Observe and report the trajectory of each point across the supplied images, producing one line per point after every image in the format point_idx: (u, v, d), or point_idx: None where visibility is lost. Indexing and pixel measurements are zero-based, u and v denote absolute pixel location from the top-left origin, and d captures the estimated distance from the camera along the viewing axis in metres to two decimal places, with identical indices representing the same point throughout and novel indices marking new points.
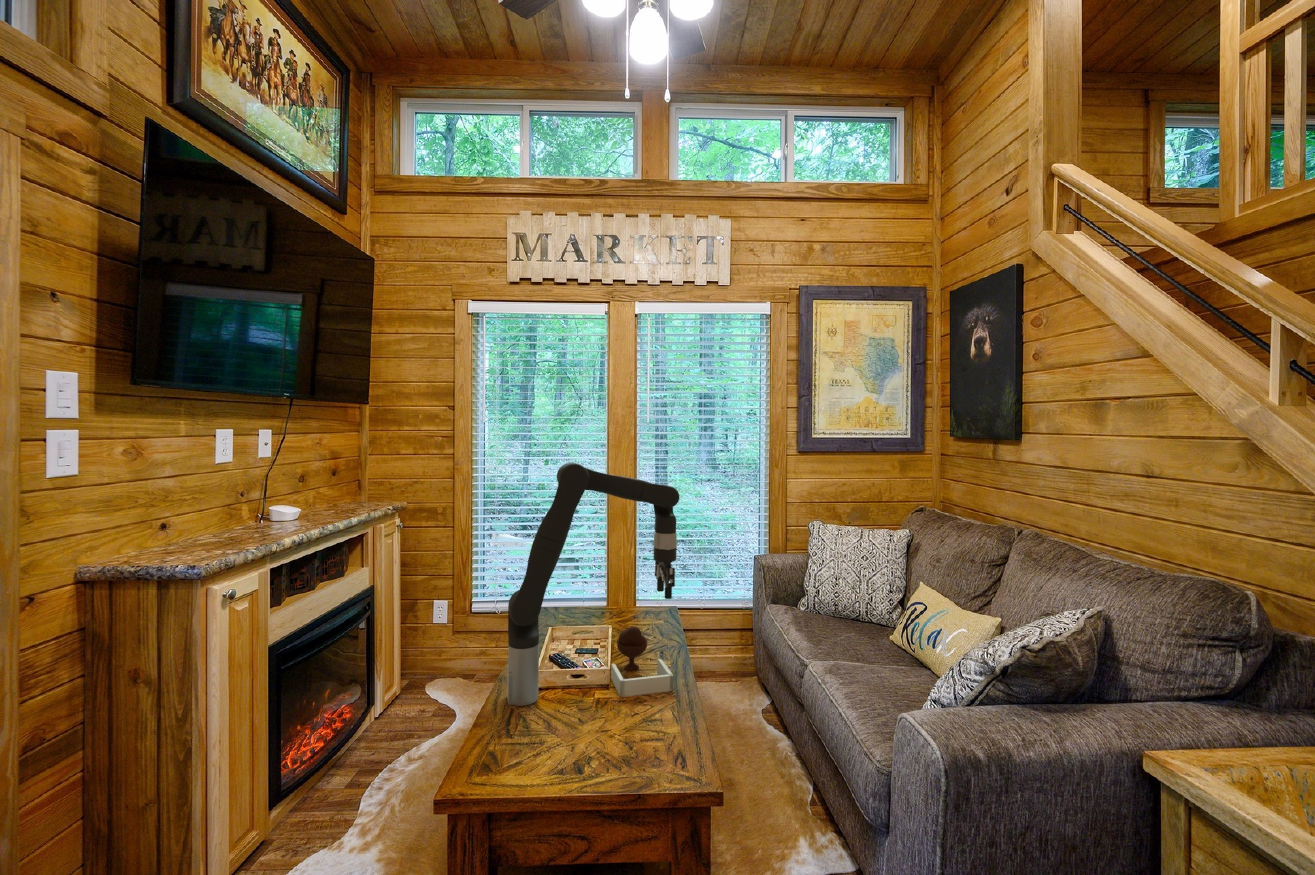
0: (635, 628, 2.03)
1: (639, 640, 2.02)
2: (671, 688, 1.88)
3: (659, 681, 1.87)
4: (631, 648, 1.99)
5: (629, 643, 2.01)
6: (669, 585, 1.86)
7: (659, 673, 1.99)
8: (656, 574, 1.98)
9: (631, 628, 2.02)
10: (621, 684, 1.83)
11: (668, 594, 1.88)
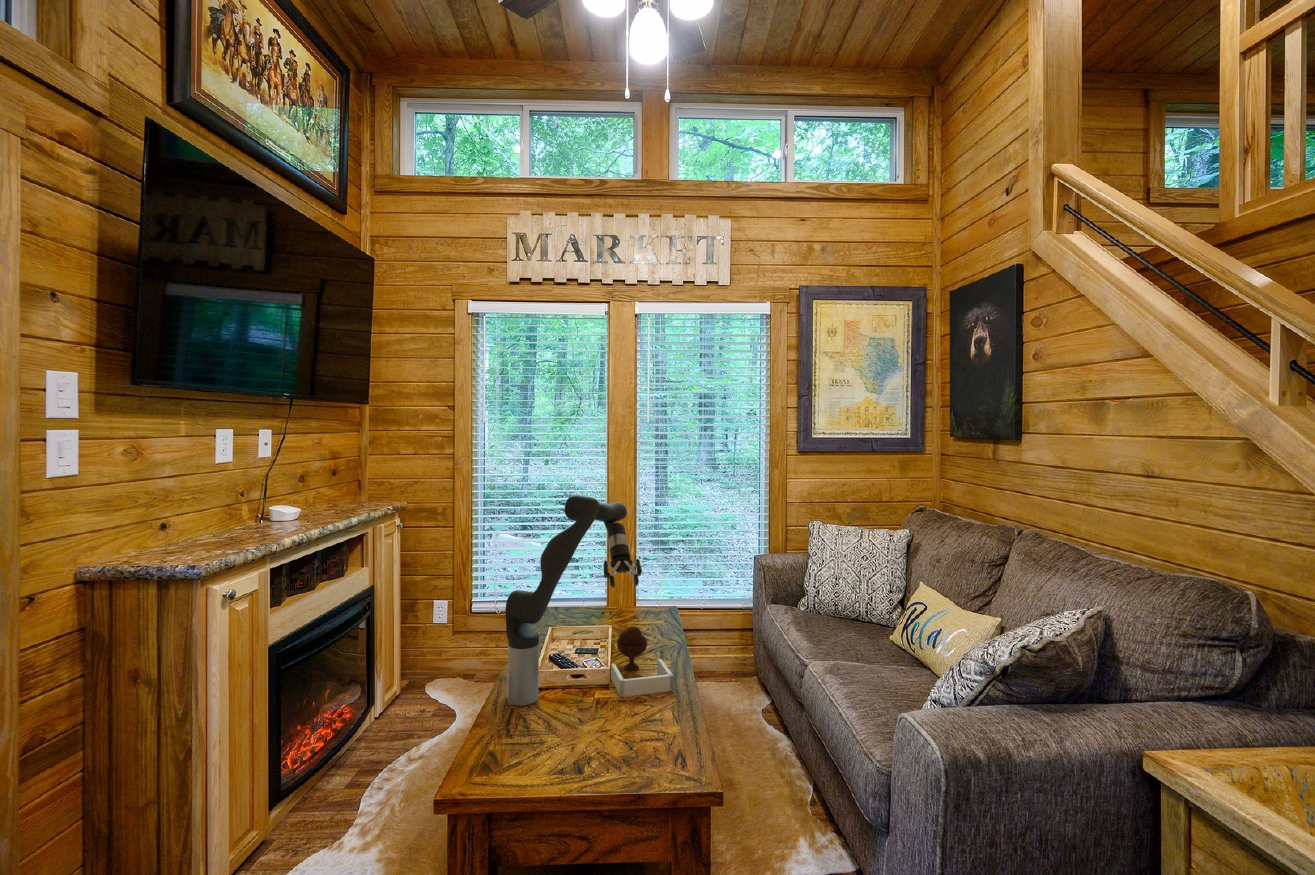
0: (635, 628, 2.03)
1: (639, 640, 2.02)
2: (671, 688, 1.88)
3: (659, 681, 1.87)
4: (631, 648, 1.99)
5: (629, 643, 2.01)
6: None
7: (659, 673, 1.99)
8: (607, 572, 2.19)
9: (631, 628, 2.02)
10: (621, 684, 1.83)
11: None
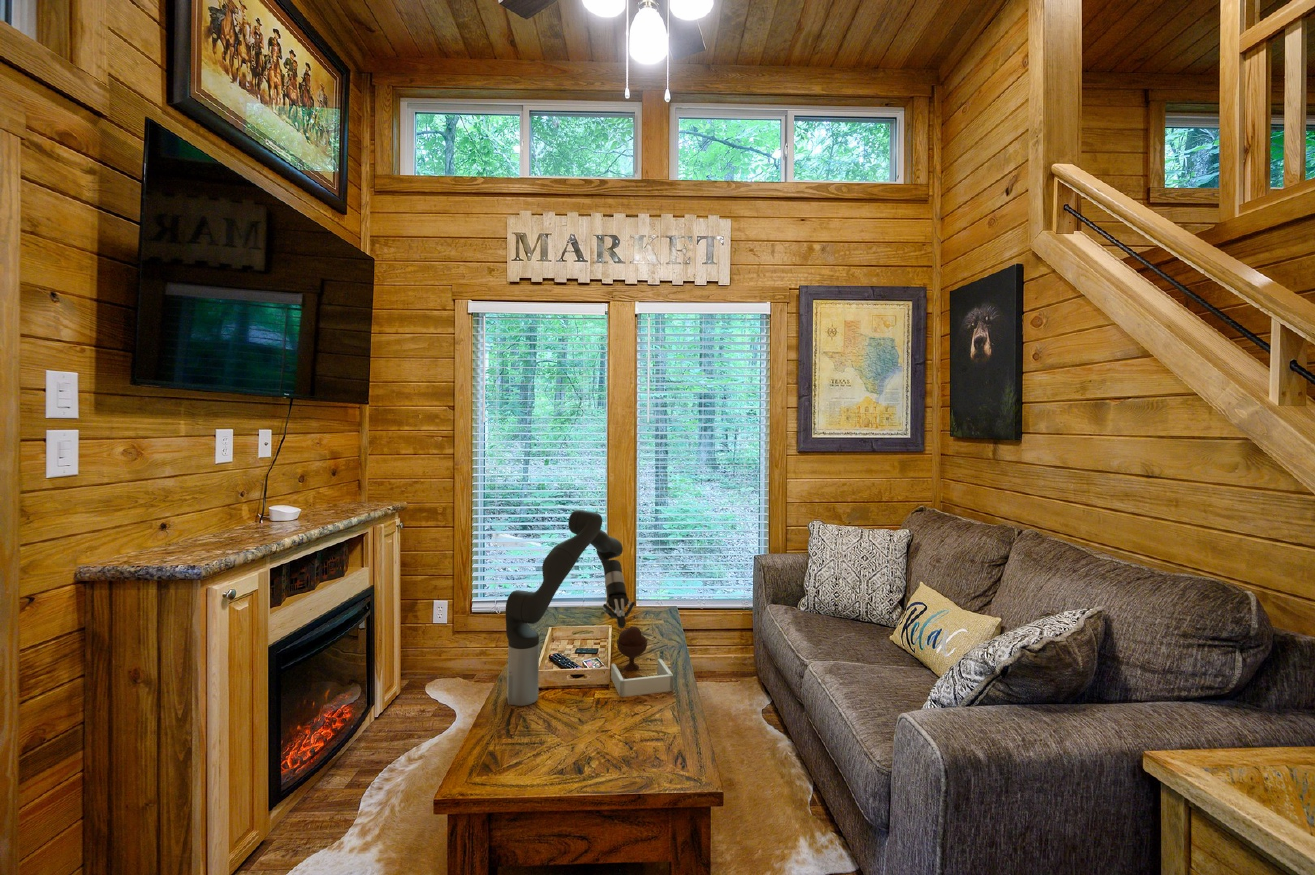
0: (635, 628, 2.03)
1: (639, 640, 2.02)
2: (671, 688, 1.88)
3: (659, 681, 1.87)
4: (631, 648, 1.99)
5: (629, 643, 2.01)
6: None
7: (659, 673, 1.99)
8: None
9: (631, 628, 2.02)
10: (621, 684, 1.83)
11: None
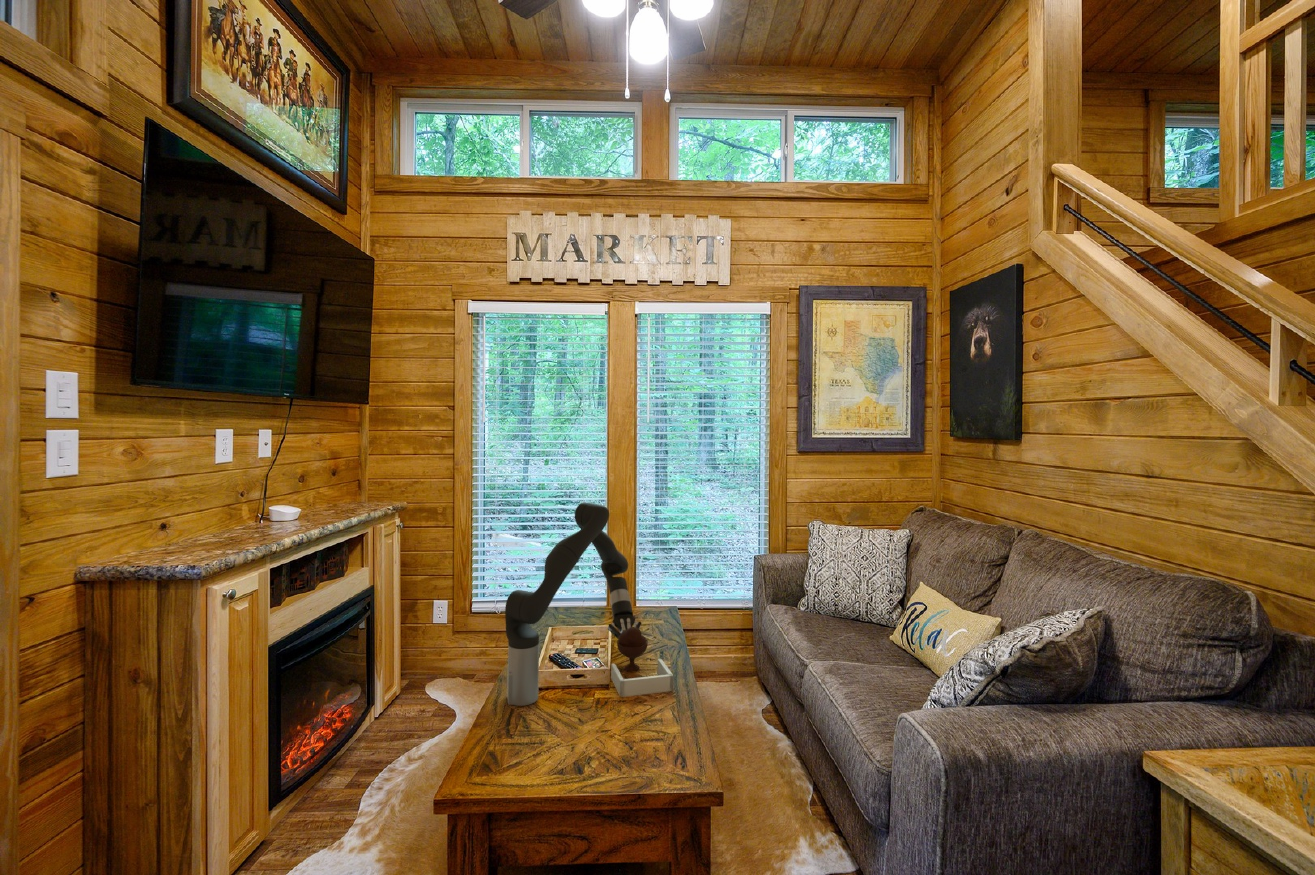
0: (635, 629, 2.02)
1: (639, 641, 2.01)
2: (671, 688, 1.88)
3: (659, 681, 1.87)
4: (631, 649, 1.99)
5: (629, 644, 2.01)
6: None
7: (659, 673, 1.99)
8: (620, 633, 2.11)
9: (631, 629, 2.02)
10: (621, 684, 1.83)
11: None
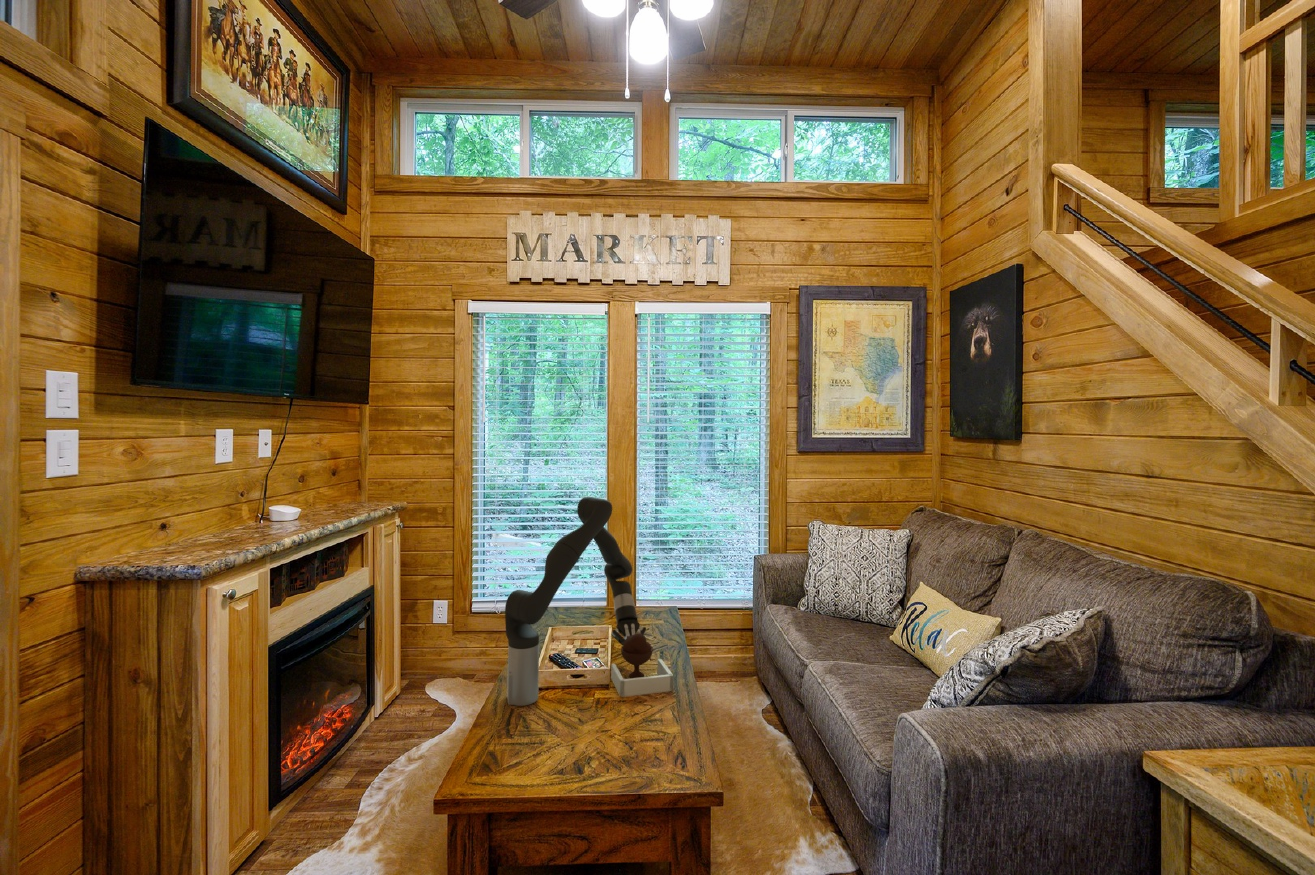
0: (640, 635, 1.96)
1: (644, 647, 1.95)
2: (671, 688, 1.88)
3: (659, 681, 1.87)
4: (635, 656, 1.93)
5: (634, 650, 1.95)
6: None
7: (659, 673, 1.99)
8: (624, 639, 2.05)
9: (636, 635, 1.96)
10: (621, 684, 1.83)
11: None
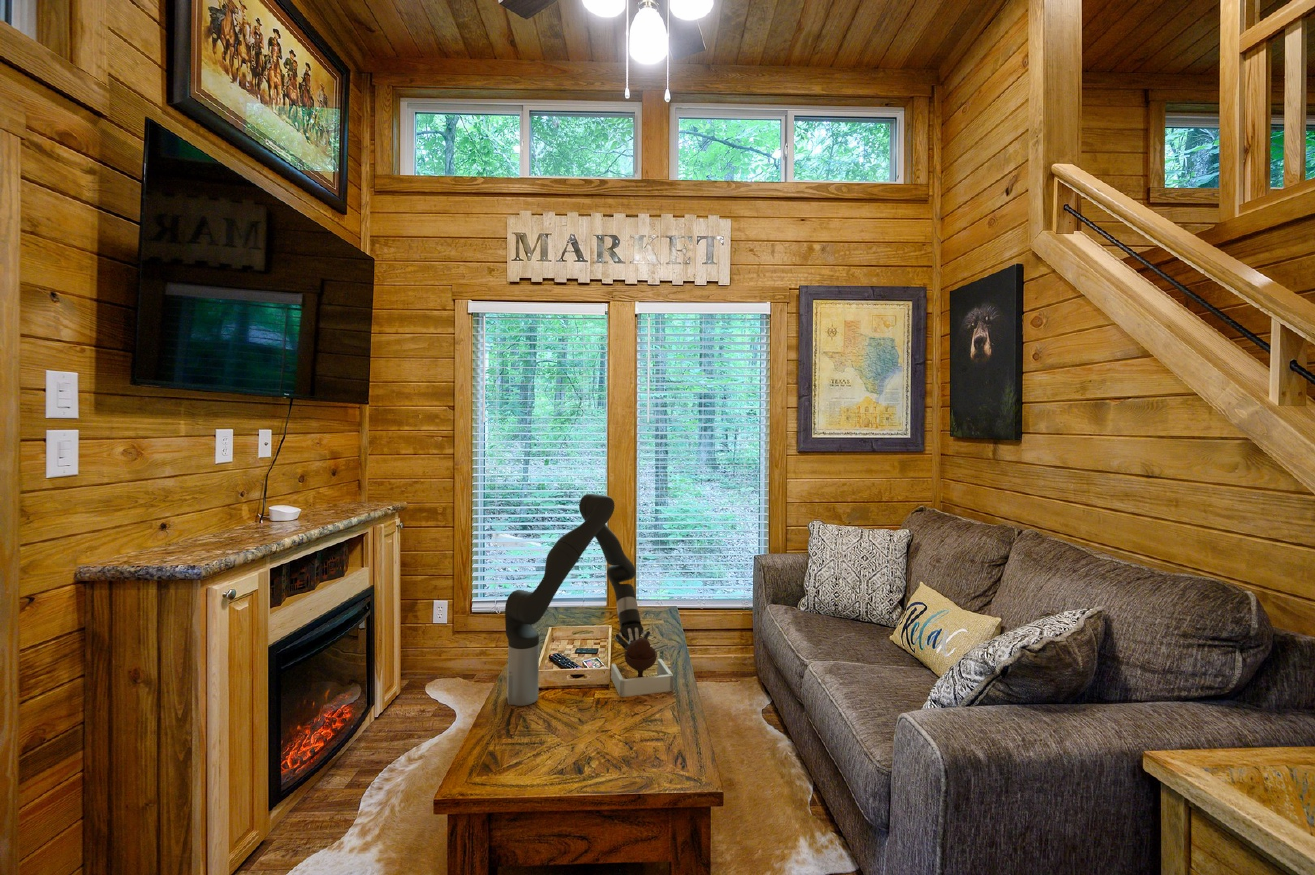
0: (644, 640, 1.92)
1: (648, 653, 1.91)
2: (671, 688, 1.88)
3: (659, 681, 1.87)
4: (639, 661, 1.88)
5: (637, 656, 1.91)
6: None
7: (659, 673, 1.99)
8: (627, 643, 2.01)
9: (639, 640, 1.91)
10: (621, 684, 1.83)
11: None
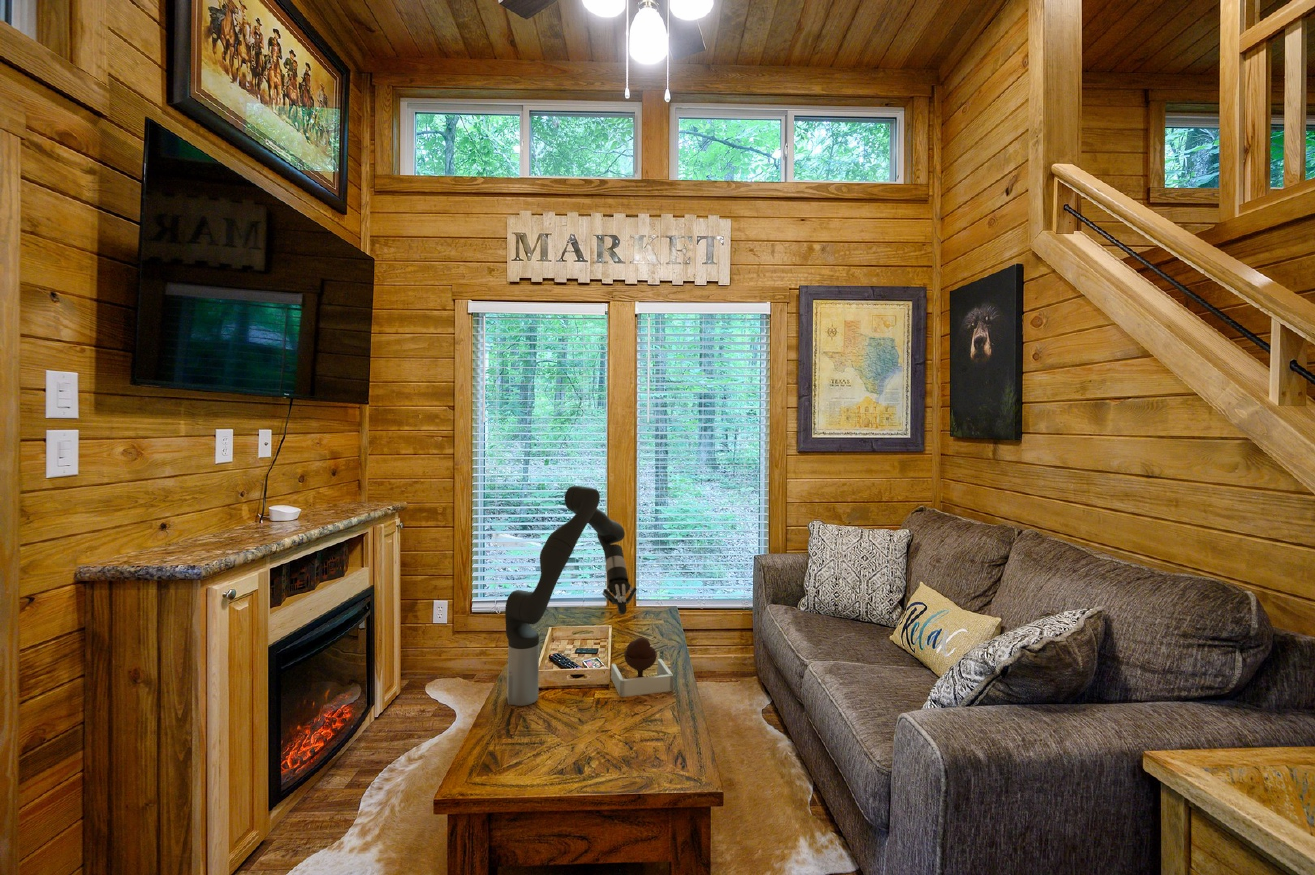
0: (643, 640, 1.92)
1: (648, 652, 1.91)
2: (671, 688, 1.88)
3: (659, 681, 1.87)
4: (639, 661, 1.89)
5: (637, 655, 1.91)
6: None
7: (659, 673, 1.99)
8: (614, 598, 2.11)
9: (639, 639, 1.92)
10: (621, 684, 1.83)
11: None
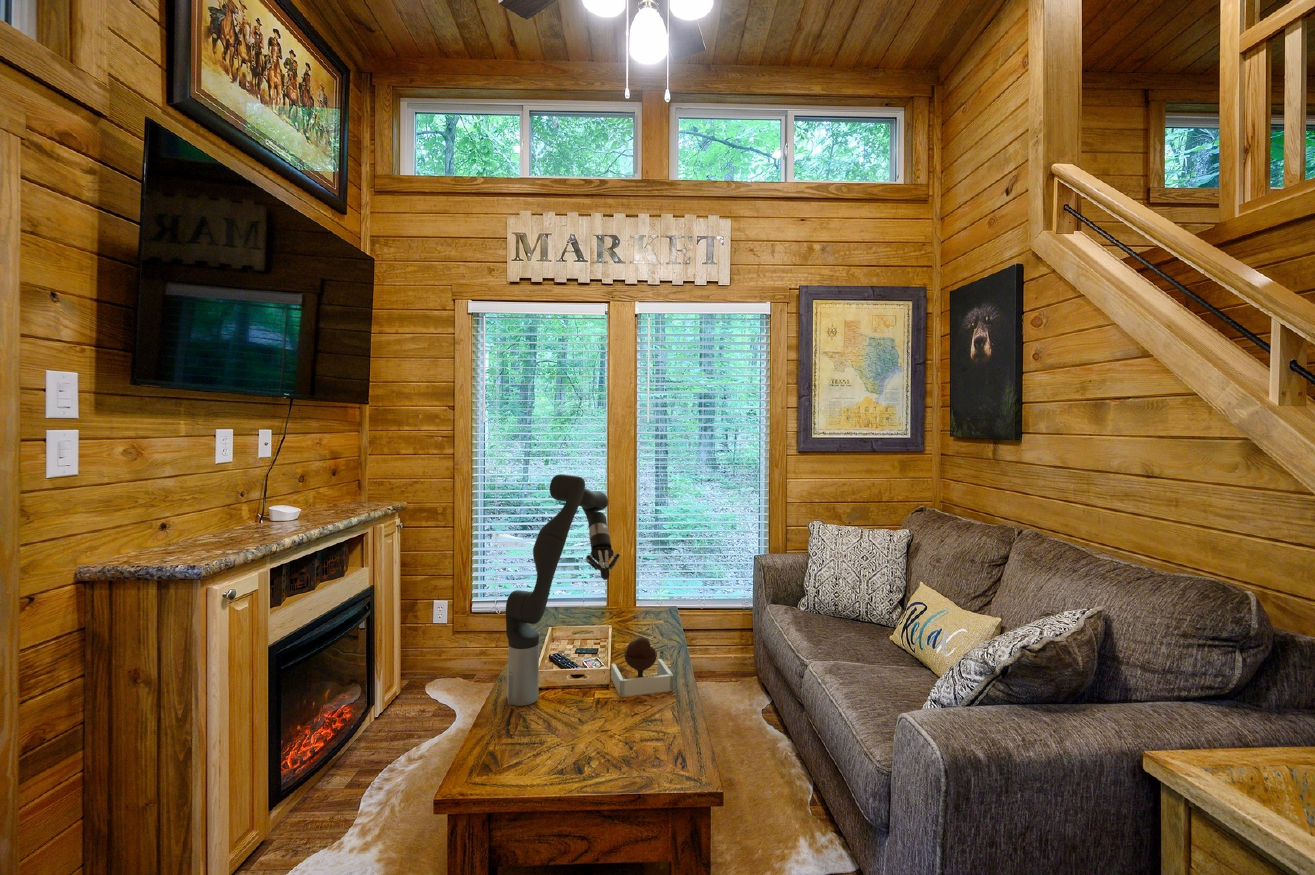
0: (644, 639, 1.92)
1: (648, 652, 1.91)
2: (671, 688, 1.88)
3: (659, 681, 1.87)
4: (639, 661, 1.89)
5: (637, 655, 1.91)
6: None
7: (659, 673, 1.99)
8: (597, 564, 2.12)
9: (639, 639, 1.92)
10: (621, 684, 1.83)
11: None
